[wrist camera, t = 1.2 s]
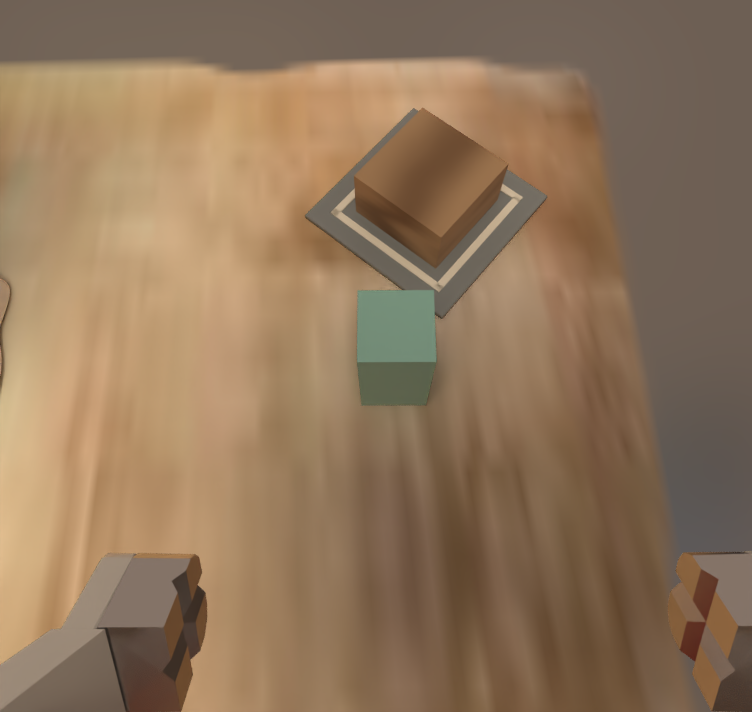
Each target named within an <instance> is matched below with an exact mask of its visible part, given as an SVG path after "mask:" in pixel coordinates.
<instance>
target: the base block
mask: <svg viewBox="0 0 752 712" xmlns="http://www.w3.org/2000/svg"><path fill="white" fill-rule="evenodd" d="M507 167H508V163H507V162H505V161H503V160H502V159H500V158H499V157H497V156H496V155H494V154H493V153H491V152H490V151H488V150H487V149H485V148H484V147H482V146H481V145H479V144H477V143H476V142H474V141H473V140H471V139H470V138H468V137H467V136H465V135H464V134H462V133H461V132H459V131H458V130H456V129H454V128H453V127H451V126H450V125H448V124H447V123H445V122H444V121H442V120H441V119H439V118H438V117H436V116H435V115H433V114H432V113H430V112H428V111H427V110H425V109H424V108H422V109H421V110H420V111H419V112H418V113H417V114H416V115H415V116H414V117H413V118H412V119H411V120H410V121H409V122H408V123H407V124H406V125H405V126H404V127H403V128H402V129H401V130H400V131H399V132H398V133H397V134H396V135H395V136H394V137H393V138H391V139H390V140H389V141H388V142H387V143H386V144H385V145H384V146H383V147H382V148H381V149H380V150H379V151H378V152H377V153H376V154H375V155H374V156H373V157H372V158H371V159H370V160H369V161H368V162H367V163H366V164H365V165H364V166H363V167H362V168H361V169H360V170H359V171H358V172H357V173H356V174H355V175H354V186H355V202H356V212H358V213H359V214H361V215H362V216H363V217H365V218H366V219H367V220H369V221H370V222H372V223H373V224H374V225H376V226H377V227H379V228H380V229H381V230H383V231H384V232H385V233H387V234H388V235H390V236H391V237H392V238H394V239H395V240H397V241H398V242H399V243H401V244H402V245H403V246H405V247H406V248H408V249H409V250H410V251H412V252H413V253H414V254H416V255H417V256H419V257H420V258H421V259H423V260H424V261H426V262H427V263H428V264H430V265H431V266H432V267H434V268H435V269H436V268H437V267H438V266H439V264H440V263H441V262H442V261H443V260H444V259H445V258H446V257H447V256H448V254H449V253H450V252H451V251H452V250H453V249H454V248H455V247H456V246H457V244H458V243H459V242H460V241H461V240H462V239H463V238H464V237H465V236H466V234H467V233H468V232H469V231H470V230H471V229H472V228H473V227H474V226H475V224H476V223H477V222H478V221H479V220H480V219H481V218H482V217H483V216H484V214H485V213H486V212H487V211H488V210H489V209H490V208H491V207H492V206H493V204H494V203H495V202H496V201H497V200H498V197H499V193H500V190H501V187H502V184H503V180H504V177H505V174H506V171H507Z"/></svg>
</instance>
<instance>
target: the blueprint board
mask: <svg viewBox="0 0 752 712" xmlns="http://www.w3.org/2000/svg"><path fill="white" fill-rule="evenodd" d="M418 112H419V111H417V110H416V109H414V108H413V109H412V110H411V111H410V112H409V113H408V114H407V115H406V116H405V117H404V118H403V119H402V120H401V121H400V122H399V123H398V124H397V125H396V126H395V127H394V128H393V129H392V130H391V131H390V132H389V133H388V134H387V135H386V136H385V137H384V138H383V139H382V140H381V141H380V142H379V143H378V144H377V145H376V146H375V147H374V148H373V149H372V150H371V151H370V152H369V153H368V154H367V155H366V156H365V157H364V158H363V159H362V160H361V161H360V162H359V163H358V164H357V165H356V166H354V167H353V168H352V169H351V170H350V171H349V172H348V173H347V174H346V175H345V176H344V177H343V178H342V179H341V180H340V181H339V182H338V183H337V184H336V185H335V186H334V187H333V188H332V189H331V190H330V191H329V192H328V193H327V194H326V195H325V196H324V197H323V198H322V199H321V200H320V201H319V202H318V203H317V204H316V205H315V206H314V207H313V208H312V209H311V210H310V211H309V212H308V213H307V214H306V215H305V217H306V218H307V219H308V220H309V221H311V222H312V223H313V224H315V225H316V226H317V227H319V228H320V229H321V230H323V231H324V232H326V233H327V234H328V235H330V236H331V237H332V238H334V239H335V240H336V241H338V242H339V243H340V244H342V245H343V246H344V247H346V248H347V249H348V250H350V251H351V252H352V253H354V254H355V255H356V256H358V257H359V258H360V259H362V260H363V261H365V262H366V263H367V264H369V265H370V266H371V267H373V268H374V269H375V270H377V271H378V272H379V273H381V274H382V275H383V276H385V277H386V278H387V279H389V280H390V281H391V282H393V283H394V284H395V285H397V286H398V287H400V288H401V289H402V290H434V307H435V314H436V315H437V316H439V317H440V318H441V319H442V318H443V317H444V316H445V315H446V314H447V312H448V311H449V310H450V309H451V308H452V307H453V306H454V304H455V303H456V302H457V301H458V300H459V299H460V297H461V296H462V295H463V294H464V293H465V292H466V291H467V289H468V288H469V287H470V286H471V285H472V284H473V283H474V281H475V280H476V279H477V278H478V277H479V276H480V274H481V273H482V272H483V271H484V270H485V269H486V268H487V266H488V265H489V264H490V263H491V262H492V261H493V260H494V258H495V257H496V256H497V255H498V254H499V253H500V251H501V250H502V249H503V248H504V247H505V246H506V245H507V243H508V242H509V241H510V240H511V239H512V238H513V237H514V235H515V234H516V233H517V232H518V231H519V230H520V228H521V227H522V226H523V225H524V224H525V223H526V222H527V220H528V219H529V218H530V217H531V216H532V215H533V214H534V212H535V211H536V210H537V209H538V208H539V207H540V205H541V204H542V203H543V202H544V201H545V200H546V199H547V195H545V194H544V193H542V192H541V191H539V190H538V189H536V188H535V187H533V186H531V185H530V184H528V183H527V182H525V181H524V180H522V179H521V178H519V177H518V176H516V175H515V174H513V173H512V172H510V171H509V170H507V171H506V174H505V177H504V180H503V184H502V187H501V190H500V193H499V197H498V200H497V201H496V202H495V203H494V204H493V206H492V207H491V208H490V209H489V210H488V211H487V212H486V213H485V214H484V216H483V217H482V218H481V219H480V220H479V221H478V222H477V223H476V224H475V226H474V227H473V228H472V229H471V230H470V231H469V232H468V233H467V234H466V236H465V237H464V238H463V239H462V240H461V241H460V242H459V243H458V244H457V246H456V247H455V248H454V249H453V250H452V251H451V252H450V253H449V254H448V256H447V257H446V258H445V259H444V260H443V261H442V262H441V263H440V264H439V266H438V267H437V268H436V269H435V268H434V267H432V266H431V265H430V264H428V263H427V262H426V261H424V260H423V259H421V258H420V257H419V256H417V255H416V254H414V253H413V252H412V251H410V250H409V249H408V248H406V247H405V246H403V245H402V244H401V243H399V242H398V241H397V240H395V239H394V238H392V237H391V236H390V235H388V234H387V233H385V232H384V231H383V230H381V229H380V228H379V227H377V226H376V225H374V224H373V223H372V222H370V221H369V220H367V219H366V218H365V217H363V216H362V215H361V214H359V213H358V212H356V202H355V186H354V175H355V174H356V173H357V172H358V171H359V170H360V169H361V168H362V167H363V166H364V165H365V164H366V163H367V162H368V161H369V160H370V159H371V158H372V157H373V156H374V155H375V154H376V153H377V152H378V151H379V150H380V149H381V148H382V147H383V146H384V145H385V144H386V143H387V142H388V141H389V140H390V139H391V138H393V137H394V136H395V135H396V134H397V133H398V132H399V131H400V130H401V129H402V128H403V127H404V126H405V125H406V124H407V123H408V122H409V121H410V120H411V119H412V118H413V117H414V116H415V115H416V114H417V113H418Z"/></svg>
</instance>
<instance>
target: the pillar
mask: <svg viewBox="0 0 752 712" xmlns="http://www.w3.org/2000/svg"><path fill="white" fill-rule="evenodd" d="M436 362H437V360H436V334H435V307H434V290H369V291H358V311H357V367H358V376H359V386H360V395H361V405H362V406H363V405H426V403H427V399H428V395H429V390H430V386H431V382H432V378H433V374H434V370H435V366H436Z"/></svg>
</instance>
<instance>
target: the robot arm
mask: <svg viewBox="0 0 752 712" xmlns="http://www.w3.org/2000/svg"><path fill="white" fill-rule="evenodd" d="M9 297H10V288H9V285H8V284H7V282H6V281H4V280H3V279H1V278H0V325H1V322H2V319H3V317H4V314H5V311H6V308H7V305H8V301H9ZM0 374H1V347H0ZM675 571H676V573H677V574H678V576H679V578H680V580H681V582H680V583H679V584H678V585H677V586H676V587H674V588H673V589H672V590H671V591H670V596H669V601H668V606H667V607H668V618H669V625H670V628H671V632H672V635H673V637H674V639H675V642H676V644H677V646H678V648H679V650H680V651H682V652H683V653H684V654H686V655H687V656H688V657H690V658H691V659H692V660H694V661H695V665H694V668H693V672H692V675H693V677H694V679H695V681H696V682H697V684H698V686H699V688H700V690H701V692H702V694H703V696H704V698H705V700H706V701H707V703H708V705H709V707H710V709H711V711H713V712H716V711H717V712H752V551H744V552H684V553H683V554H682V555H681V556H680V558H679V559H678V563H677V566H676V570H675ZM201 574H202V569H201V564H200V559H199V557H198V556H197V555H195V554H162V553H138V554H130V553H108V554H107V555H105V556H104V557H103V558H102V559H101V560H100V562H99V563H98V565H97V567H96V569H95V570H94V572H93V574H92V576H91V577H90V579H89V581H88V583H87V584H86V586H85V588H84V589H83V591H82V593H81V595H80V596H79V598H78V600H77V602H76V603H75V605H74V607H73V608H72V610H71V612H70V614H69V615H68V617H67V619H66V621H65V622H64V624H63V626H62V628H61V629H51V630H50V631H48V632H47V633H45V634H44V635H42V636H41V637H40V638H38V639H37V640H35V641H34V642H32V643H31V644H29V645H28V646H27V647H25V648H24V649H22V650H21V651H19V652H18V653H17V654H15V655H14V656H12V657H11V658H9V659H8V660H6V661H5V662H4V663H2V664H1V665H0V712H181V710H182V707H183V704H184V701H185V698H186V695H187V691H188V688H189V685H190V682H191V679H192V676H193V672H192V667H191V661H190V660H191V659H192V658H193V657H194V656H195V655H196V654H197V653H198V652H199V651H200V650H201V647H202V643H203V640H204V636H205V630H206V623H207V600H206V593H205V592H204V591H203V590H202V589H201V588H200V587H199V586H198V583H199V580H200V577H201Z"/></svg>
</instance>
